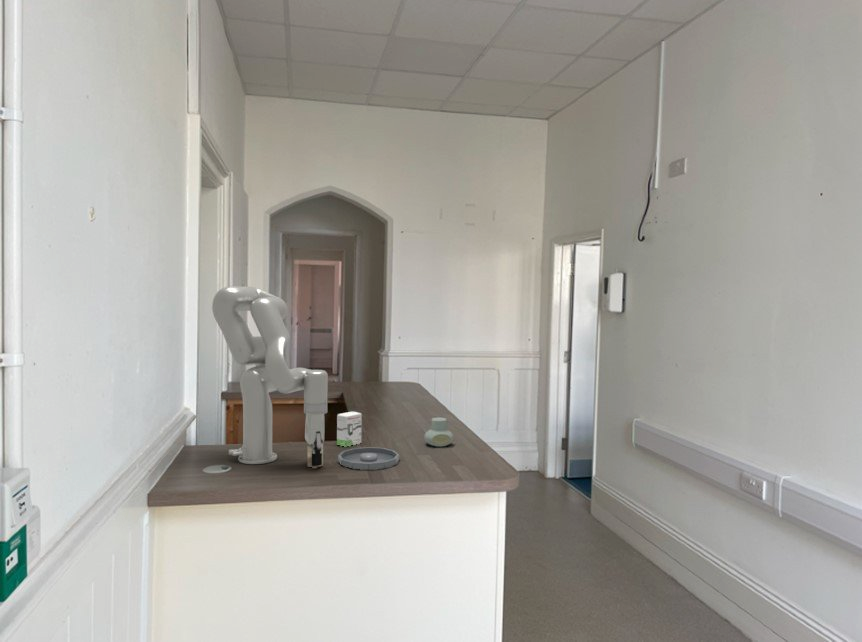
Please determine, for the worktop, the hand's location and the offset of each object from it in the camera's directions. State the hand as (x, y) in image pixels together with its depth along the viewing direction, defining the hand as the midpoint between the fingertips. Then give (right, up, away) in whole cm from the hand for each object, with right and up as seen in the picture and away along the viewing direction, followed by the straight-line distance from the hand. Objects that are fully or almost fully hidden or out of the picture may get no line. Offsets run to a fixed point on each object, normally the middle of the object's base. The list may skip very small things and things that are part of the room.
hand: (315, 462), depth 192 cm
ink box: (+7, 0, +29) cm, 29 cm away
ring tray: (+17, -1, +7) cm, 18 cm away
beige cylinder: (0, -1, 0) cm, 1 cm away
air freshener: (+41, -1, +30) cm, 51 cm away
